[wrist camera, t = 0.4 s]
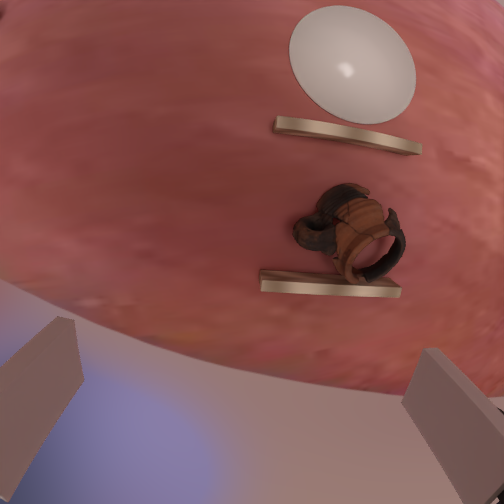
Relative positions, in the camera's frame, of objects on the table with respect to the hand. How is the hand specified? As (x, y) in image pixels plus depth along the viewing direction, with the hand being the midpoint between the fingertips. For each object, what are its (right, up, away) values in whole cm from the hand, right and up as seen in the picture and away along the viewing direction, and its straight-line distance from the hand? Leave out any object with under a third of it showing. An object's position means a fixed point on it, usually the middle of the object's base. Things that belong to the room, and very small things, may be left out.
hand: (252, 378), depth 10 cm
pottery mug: (+9, +9, +24) cm, 27 cm away
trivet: (+12, +26, +19) cm, 34 cm away
